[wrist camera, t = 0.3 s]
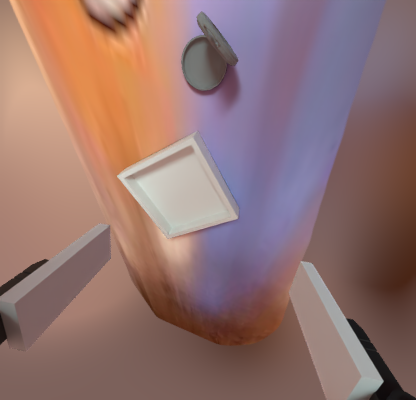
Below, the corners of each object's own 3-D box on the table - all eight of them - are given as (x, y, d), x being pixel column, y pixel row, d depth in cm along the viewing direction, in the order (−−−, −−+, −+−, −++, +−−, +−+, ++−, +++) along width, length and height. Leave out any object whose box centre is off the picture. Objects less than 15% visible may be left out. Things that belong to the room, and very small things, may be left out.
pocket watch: (180, 83, 32) (155, 91, 24) (188, 13, 27) (160, -8, 19) (230, 97, 32) (222, 109, 24) (248, 28, 27) (245, 14, 19)
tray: (197, 130, 36) (192, 136, 33) (239, 208, 43) (238, 218, 40) (126, 168, 43) (116, 175, 40) (172, 228, 50) (167, 238, 48)
